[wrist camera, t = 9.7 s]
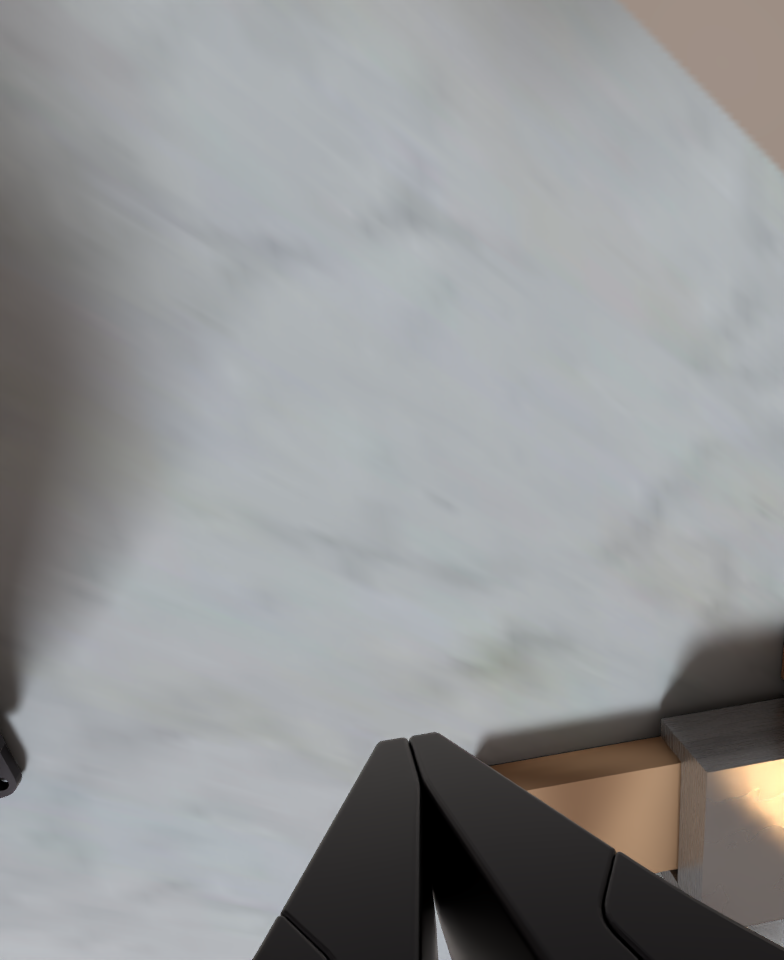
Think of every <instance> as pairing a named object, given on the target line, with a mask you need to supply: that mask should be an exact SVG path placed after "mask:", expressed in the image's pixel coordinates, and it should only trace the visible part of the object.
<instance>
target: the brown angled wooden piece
mask: <svg viewBox="0 0 784 960" xmlns="http://www.w3.org/2000/svg"><path fill="white" fill-rule="evenodd" d="M781 678H782V679H783V680H784V647H783V659H782V672H781ZM490 767H491V768H493V769H494V770H496V771H497V772H499V773H500V774H502V775H503V776H505V777H506V778H508V779H509V780H511V781H512V782H514V783H515V784H517V785H518V786H520V787H522V788H523V789H525V790H526V791H528V792H529V793H531V794H532V795H534V796H535V797H537V798H538V799H540V800H541V801H543V802H544V803H546V804H547V805H549V806H550V807H552V808H553V809H555V810H556V811H558V812H559V813H561V814H563V815H564V816H566V817H567V818H569V819H570V820H572V821H573V822H575V823H576V824H578V825H579V826H581V827H582V828H584V829H585V830H587V831H588V832H590V833H591V834H593V835H594V836H596V837H597V838H599V839H601V840H602V841H604V842H605V843H607V844H608V845H610V846H611V847H613V848H614V849H615V850H616V853H617V852H622V853H624V854H625V855H627V856H628V857H630V858H631V859H633V860H635V861H636V862H638V863H639V864H641V865H642V866H644V867H645V868H647V869H648V870H650V871H652V872H653V873H658V872H663V871H668V870H674V869H678V853H679V820H680V787H681V761H680V759H679V758H678V757H677V756H676V755H675V753H674V752H673V751H672V750H671V748H670V747H669V746H668V745H667V744H666V742H665V741H664V740H663V739H662V737H661V736H659V737H654V738H648V739H642V740H636V741H631V742H625V743H619V744H614V745H608V746H602V747H596V748H591V749H585V750H579V751H574V752H568V753H562V754H556V755H551V756H545V757H539V758H534V759H528V760H522V761H516V762H511V763H505V764H499V765H493V766H490Z"/></svg>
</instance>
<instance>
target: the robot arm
mask: <svg viewBox="0 0 784 960" xmlns="http://www.w3.org/2000/svg"><path fill="white" fill-rule="evenodd" d="M0 778H3V779H6V780H7V781H8V782H4V781H2V780H1V779H0V798H2V797H5V796H8V795H10V794H12V793H13V792H14V791H15V789H16V788H17V786H18V785H19V783H20V782H21V779H22V774H21V771H20V769H19V767H18V765H17V764H16V762H15V760H14V758H13V756H12V755H11V753H10V751H9V749H8V748H7V746H6V744H5V741H4V739H3V737H2V735H1V734H0ZM433 897H434V899H433ZM434 901H435V906H436V910H437V914H438V917H439V921H440V924H441V928H442V931H443V934H444V937H445V940H446V943H447V946H448V950H449V953H450V956H451V959H452V960H784V947H782V946H780V945H778V944H776V943H774V942H772V941H770V940H769V939H767V938H765V937H763V936H761V935H759V934H757V933H756V932H754V931H752V930H750V929H748V928H747V927H745V926H743V925H741V924H740V923H738V922H736V921H734V920H732V919H731V918H729V917H727V916H725V915H724V914H722V913H720V912H718V911H716V910H715V909H713V908H711V907H709V906H707V905H706V904H704V903H702V902H700V901H699V900H697V899H695V898H693V897H692V896H690V895H689V894H687V893H685V892H684V891H682V890H681V889H679V888H677V887H676V886H674V885H672V884H671V883H669V882H668V881H666V880H664V879H663V878H661V877H660V876H658V875H656V874H655V873H653V872H652V871H650V870H648V869H647V868H645V867H644V866H642V865H641V864H639V863H638V862H636V861H635V860H633V859H631V858H630V857H628V856H627V855H625V854H624V853H622V852H617V853H616V850H615V849H614V848H613V847H611V846H610V845H608V844H607V843H605V842H604V841H602V840H601V839H599V838H597V837H596V836H594V835H593V834H591V833H590V832H588V831H587V830H585V829H584V828H582V827H581V826H579V825H578V824H576V823H575V822H573V821H572V820H570V819H569V818H567V817H566V816H564V815H563V814H561V813H559V812H558V811H556V810H555V809H553V808H552V807H550V806H549V805H547V804H546V803H544V802H543V801H541V800H540V799H538V798H537V797H535V796H534V795H532V794H531V793H529V792H528V791H526V790H525V789H523V788H522V787H520V786H518V785H517V784H515V783H514V782H512V781H511V780H509V779H508V778H506V777H505V776H503V775H502V774H500V773H499V772H497V771H496V770H494V769H493V768H491V767H490V766H488V765H487V764H485V763H484V762H482V761H480V760H479V759H477V758H476V757H474V756H473V755H471V754H470V753H468V752H467V751H465V750H464V749H462V748H461V747H459V746H458V745H456V744H455V743H453V742H452V741H450V740H449V739H447V738H446V737H444V736H443V735H441V734H439V733H436V732H433V733H427V734H421V735H415V736H412V737H411V738H410V739H409V742H408V740H407V739H406V738H397V739H391V740H385V741H380V742H379V743H378V744H377V745H376V747H375V749H374V750H373V752H372V754H371V756H370V757H369V759H368V761H367V763H366V764H365V766H364V768H363V770H362V772H361V773H360V775H359V777H358V779H357V780H356V782H355V784H354V786H353V787H352V789H351V791H350V793H349V794H348V796H347V798H346V800H345V801H344V803H343V805H342V807H341V808H340V810H339V812H338V814H337V815H336V817H335V819H334V821H333V822H332V824H331V826H330V828H329V829H328V831H327V833H326V835H325V836H324V838H323V840H322V842H321V843H320V845H319V847H318V849H317V850H316V852H315V854H314V856H313V857H312V859H311V861H310V863H309V864H308V866H307V868H306V870H305V871H304V873H303V875H302V877H301V878H300V880H299V882H298V884H297V885H296V887H295V889H294V891H293V892H292V894H291V896H290V898H289V899H288V901H287V903H286V905H285V906H284V908H283V910H282V912H281V916H278V917H277V918H276V920H275V922H274V924H273V925H272V927H271V929H270V931H269V932H268V934H267V936H266V938H265V939H264V941H263V943H262V945H261V946H260V948H259V950H258V951H257V953H256V954H255V956H254V958H253V959H252V960H438V946H437V930H436V919H435V908H434Z"/></svg>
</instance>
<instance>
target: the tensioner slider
mask: <svg viewBox="0 0 784 960" xmlns="http://www.w3.org/2000/svg"><path fill="white" fill-rule="evenodd" d="M661 737H662V739H663V740H664V741H665V742H666V744H667V745H668V746H669V747H670V748H671V750H672V751H673V752H674V753H675V755H676V756H677V757H678V758H679V759H680V761H681V787H680V820H679V853H678V869H674V870H668V871H663V872H661V874H662V876H663V877H664V879H665V880H666V881H668V882H669V883H671V884H672V885H674V886H676V887H677V888H679V889H681V890H682V891H684V892H685V893H687V894H689V895H690V896H692V897H693V898H695V899H697V900H699V901H700V902H702V903H704V904H706V905H707V906H709V907H711V908H713V909H715V910H716V911H718V912H720V913H722V914H724V915H725V916H727V917H729V918H731V919H732V920H734V921H736V922H738V923H740V924H741V925H743V926H745V927H746V926H751V925H756V924H760V923H765V922H770V921H775V920H780V919H784V698H779V699H774V700H768V701H762V702H756V703H750V704H745V705H739V706H733V707H727V708H721V709H716V710H710V711H704V712H698V713H692V714H687V715H681V716H675V717H669V718H663V719H661Z"/></svg>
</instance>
